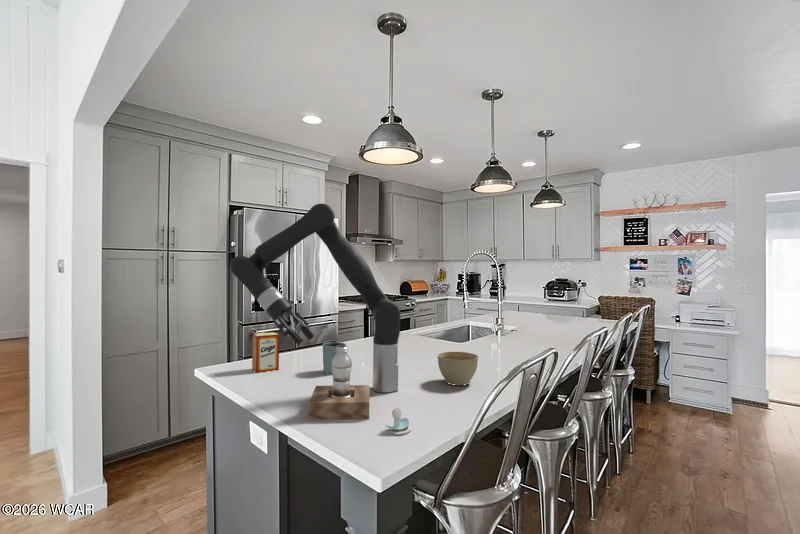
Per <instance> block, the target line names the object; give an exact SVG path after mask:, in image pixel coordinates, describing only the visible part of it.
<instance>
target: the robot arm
mask: <svg viewBox="0 0 800 534" xmlns="http://www.w3.org/2000/svg"><path fill="white" fill-rule="evenodd" d="M335 216H336V215H335V211H334V210H333V208H332V207H331V206H330V205H329V204H326V203H322V202H321V203H317V204H315V205H312V206H311V208H310V209H309V210H308V211H307V212H306V213H305V214H303V216H302V217H300V218H299V219H298V220H297V221H295V222H294V223H293V224H291V225H290V226H288V227H287V228H285V229H284V230H282V231H280V232H278V233H276V234H275V235H273V236H272V237H270V238H269V239H267V240H265V241H264V242H263V243H261V244H259V245H258V246H257V247H255V250H254V253H253V254H252V255H250V257H247V256H246V255H236V256H235V257H233V259H232V260H230V266H229V268H230V271H231V273H232V274H233V276H235V277H236V278H237V279H238V280H239V282H241V283H242V285H244V286H245V288H247V290H248V291H249V293H250V294H251V295H252V296H253V298H254V299H255V300H256V301H257V302H258V304H259V306H260V307H261V308H262V309H263V310H264V311H265V312H266V314H267V315H268V316H269V317H270V319H272V320H273V323H274V325H275V326H276V327H277V329H278V330H279V331H280V332H281V334H283V336H284V337H287V336H288V337H290V338H291V339H292V340H293V341H294V343H296V345H297V346H298V345H301V344H302V343H303V342H304V338H303V337H302V336H301V335H300V334H299V333H298V331H300V332H302V334H303V336H305V337H306V339H308V341H310V340H312V339H313V338H314V337H315V335H314V333H313V332H312V331H311V330H310V329H309V325H310V324H309V323H308V322H307V320H306V319H305V318H304V317H303V316H302V315H301V314H300V313H299V312H296V313H295V314H294V313H293V312H292V309H293V305H292V304H291V303H290V302H289V301H288V300H287V298H286V297H285V296H284V295H283V294H282V293H281V292H280V291H279V290H278V289H277V288H276V287H275V286H274V285H273V284H272V282H271V281H270V280H269V279H268V278H267V277H266V276H265V275H263V273H261V272H263V271H264V269H266V268H267V267H268V265H270V264H272V263H273V262H274V261H276V260H277V259H279V258H280V257H282V256H283V255H284V254H287V252H289V251H290V250H292V248H294V247H295V246H297V244H299V243H300V242H301V241H303V240H304V239H306V238H308V237H309V236H311V235H314V234H316V235H317V237H318V238H319V239H321V241H322V242H323V243H324V245H325V246H326V247H327V249H328V250H329V252H330V254H331V256H332V258H333V260H334V261H335V263H336V264H337V266H338V267H339V269H340V270H341V272H342V273H343V275H344V276H345V278H346V279H347V280H348V281H349V283H350V284H351V285H352V287H353V288H354V289H355V290H356V291H357V293H358V294H359V295H361V297H362V298H363V301H364V302H365V304H366V305H367V307H368V309H369V310H370V313H371V314H372V317H373V318H374V320H375V325H374V327H375V330H374V335H373V337H372V339H373V344H372V345H373V347H372V349H373V352H372V353H373V354H372V359H373V361H372V389H373V391H375V392H376V393H377V392H378V393H392V392H399V337H400V335H401V334H400V333H401V310H400V306H398V304H397V303H396V302H395V301H392V300H390V299H389V298H388V296H386V295H385V293H384V292H383V290H381V288H380V286H379V284H378V283H377V281H376V279H375V276H374V274H373V271H372V270H371V268H370V266H369V264H368V263H367V261H366V260H365V258H364V257H363V255H362V254H361V253H360V251H359V250H358V249H357V248H356V247H355V246H354V245H353V244H352V243H351V242H350V241H349V240H348V239H347V238H346V237H345V236H344V234H343V233H342V232H341V231H340V229H339V227H338V225H337V224H336V222H335V219H336V218H335ZM297 330H298V331H297Z"/></svg>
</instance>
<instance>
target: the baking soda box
mask: <svg viewBox="0 0 800 534" xmlns="http://www.w3.org/2000/svg"><path fill="white" fill-rule="evenodd" d="M251 358H252V362H251V365H252V366H251V367H252V369H251V370H252V371H253V372H254V371H255V372H256V373H255V372H254V373H255V374H260V372H262V373H268V372H267V371H269V372H274V371H273V370H276V371H279V370H280V369H279V368H280V365H279V364H280V363H279V362H280V334H279V333H277V332H258V333H252V357H251Z"/></svg>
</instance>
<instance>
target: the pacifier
mask: <svg viewBox="0 0 800 534" xmlns="http://www.w3.org/2000/svg"><path fill="white" fill-rule="evenodd" d="M391 414H392V417H393V424H387V423H386V424H385V423H384V426H385V427H387V428H389V429H391V431H390V432H391V434H392V435H396V436H401V435H406V434H408V433H410V432H411V431H412V427H411V426H409V425H410V422H409V419H408V418H406V417H402V410H401V408H399V407H397V406H396V407H394V408H393V410H392V412H391ZM401 417H402V418H401ZM403 430H404V431H403Z"/></svg>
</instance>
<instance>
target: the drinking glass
mask: <svg viewBox="0 0 800 534" xmlns="http://www.w3.org/2000/svg"><path fill="white" fill-rule="evenodd" d="M339 345H345V346H347V344H346V343H345V342H342V341H341V342H339V341H332V342H331V341H329V342H324V343H322V360H323V361H322V365H323V368H322V371H323V373H324V374H325V373H326V374H325V375H333V373H332V360H333V358H334V357H335V355H336V354H337V353H336V346H339Z"/></svg>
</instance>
